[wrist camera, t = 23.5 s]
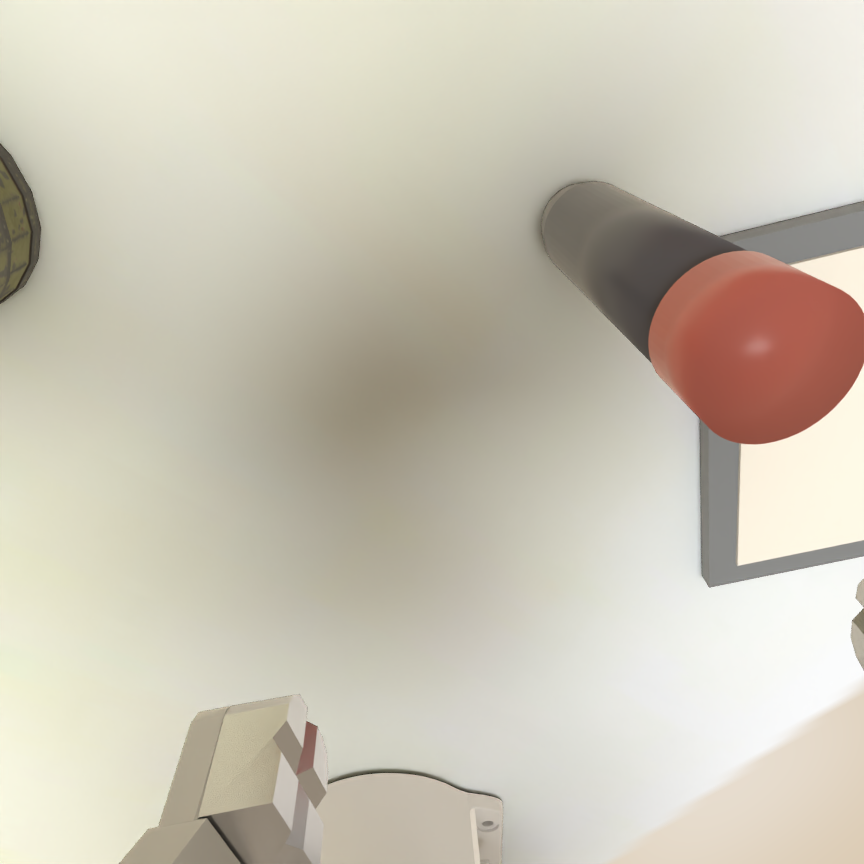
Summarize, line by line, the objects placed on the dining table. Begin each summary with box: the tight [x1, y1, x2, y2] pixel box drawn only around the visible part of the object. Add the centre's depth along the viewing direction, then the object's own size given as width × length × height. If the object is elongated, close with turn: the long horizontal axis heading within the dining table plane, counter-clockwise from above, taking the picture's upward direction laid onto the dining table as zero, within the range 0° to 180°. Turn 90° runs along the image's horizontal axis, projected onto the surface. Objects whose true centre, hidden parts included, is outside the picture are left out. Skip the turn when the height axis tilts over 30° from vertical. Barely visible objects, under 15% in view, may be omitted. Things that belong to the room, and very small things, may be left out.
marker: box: [541, 181, 864, 445], centre depth 20 cm, size 4×4×14 cm
